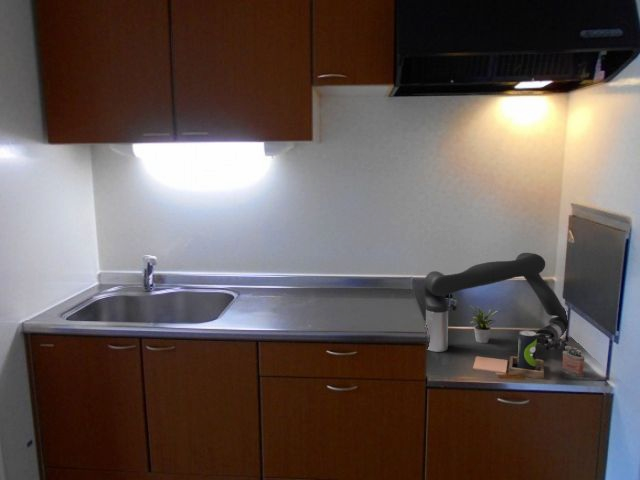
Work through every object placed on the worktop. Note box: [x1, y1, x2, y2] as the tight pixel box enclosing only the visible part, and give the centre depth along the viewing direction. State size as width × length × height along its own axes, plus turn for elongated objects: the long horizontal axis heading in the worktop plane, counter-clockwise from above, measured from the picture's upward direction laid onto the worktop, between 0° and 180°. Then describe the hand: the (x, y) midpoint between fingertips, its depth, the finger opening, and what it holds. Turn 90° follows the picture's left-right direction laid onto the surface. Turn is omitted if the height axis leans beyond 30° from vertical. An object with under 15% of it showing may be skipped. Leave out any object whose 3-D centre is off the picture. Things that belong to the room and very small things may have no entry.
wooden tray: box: [508, 355, 545, 380], centre depth 190 cm, size 12×12×2 cm
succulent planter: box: [561, 345, 585, 378], centre depth 186 cm, size 8×3×10 cm, turn 29°
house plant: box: [468, 305, 499, 344], centre depth 220 cm, size 14×14×16 cm
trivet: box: [472, 355, 509, 375], centre depth 195 cm, size 12×12×1 cm
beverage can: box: [517, 329, 537, 370], centre depth 189 cm, size 6×6×15 cm
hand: (534, 345), depth 195 cm, fingers open, 8 cm apart
